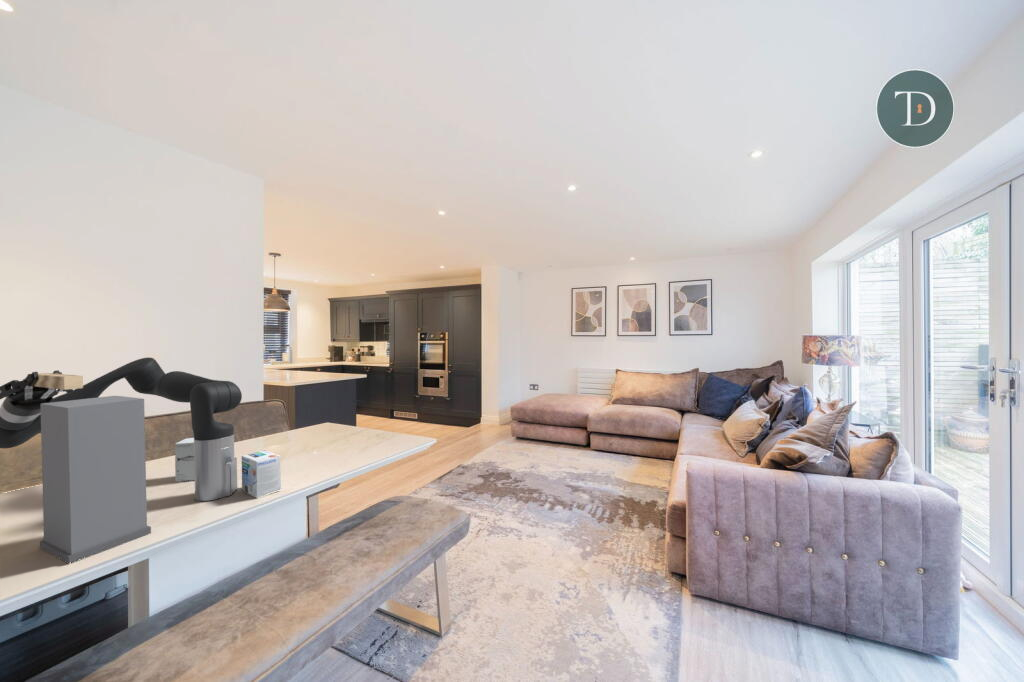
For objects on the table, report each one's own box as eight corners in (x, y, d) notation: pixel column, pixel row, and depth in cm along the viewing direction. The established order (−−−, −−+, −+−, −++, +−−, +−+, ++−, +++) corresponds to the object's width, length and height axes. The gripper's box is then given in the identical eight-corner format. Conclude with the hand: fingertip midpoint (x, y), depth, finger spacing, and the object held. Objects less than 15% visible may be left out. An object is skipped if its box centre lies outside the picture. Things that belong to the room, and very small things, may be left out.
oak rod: (27, 385, 96) (27, 374, 96) (45, 384, 99) (45, 372, 99) (64, 389, 87) (64, 377, 87) (83, 388, 90) (82, 375, 90)
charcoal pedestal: (39, 548, 82) (35, 403, 82) (120, 521, 94) (117, 395, 94) (69, 564, 76) (65, 408, 76) (150, 533, 88) (147, 398, 88)
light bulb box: (241, 491, 112) (240, 455, 112) (265, 483, 118) (265, 449, 118) (257, 499, 106) (256, 461, 106) (282, 491, 112) (281, 455, 112)
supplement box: (174, 482, 119) (173, 443, 119) (187, 474, 126) (186, 437, 126) (201, 480, 121) (200, 441, 121) (213, 472, 128) (212, 435, 128)
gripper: (-22, 395, 95) (-2, 363, 89) (61, 388, 108) (83, 359, 102) (-16, 422, 94) (5, 391, 88) (67, 411, 107) (90, 383, 101)
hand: (47, 374), depth 95 cm, fingers closed on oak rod, 3 cm apart
